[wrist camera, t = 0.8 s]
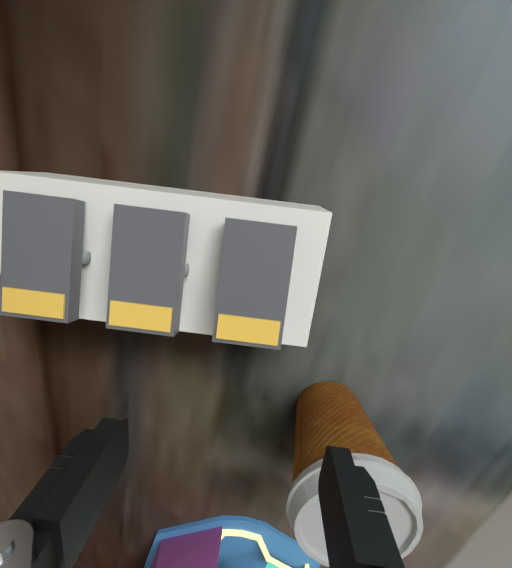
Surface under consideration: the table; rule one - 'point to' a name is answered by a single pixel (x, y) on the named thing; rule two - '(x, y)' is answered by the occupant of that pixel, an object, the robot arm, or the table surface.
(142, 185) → the console
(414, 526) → the disposable coffee cup
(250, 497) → the table surface
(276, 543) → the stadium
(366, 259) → the table surface
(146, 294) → the block
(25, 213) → the rocker
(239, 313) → the rocker
